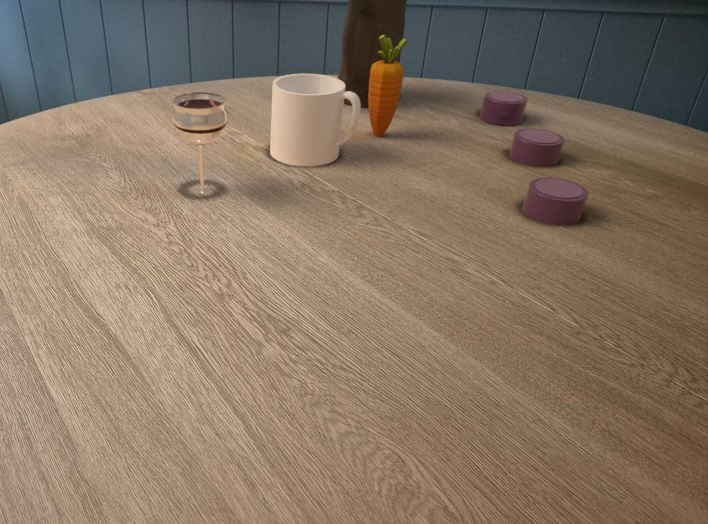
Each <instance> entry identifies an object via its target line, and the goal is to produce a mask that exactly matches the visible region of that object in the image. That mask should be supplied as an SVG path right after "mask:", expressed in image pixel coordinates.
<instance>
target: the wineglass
mask: <svg viewBox="0 0 708 524" xmlns="http://www.w3.org/2000/svg"><path fill="white" fill-rule="evenodd" d="M227 102H228V99H227V97H226V96H224V95H223V94H219V93H216V92H210V91H191V92H185V93H181V94H178V95H176V96H174V97H173V98H172V99H171V103H172V105H173V106H174V109H173V111H172V116H171V118H172V124H173V126H174V129H175V131H176V133H178V134H179V135H180V136H181V138H183V139H184V140H185V141H186V142H188V143H192V144H193V145H194V146H195V147H196V148H197V154H198V167H199V179H200V186H197V187H195V188H194V192H196V193H197V194H207V193H209V192H210V191H211V188H210V187H209V186H205V148H206V147H207V146H208V143H211V142H214V141H216V140H218V138H219V137H220V136H221V135H222V134H223V133H224V131H225V130H226V128H227V125H228V122H229V121H228V118H229V116H228V112H227V110H226V108H225V107H226V104H227Z"/></svg>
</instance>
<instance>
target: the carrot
mask: <svg viewBox="0 0 708 524" xmlns="http://www.w3.org/2000/svg"><path fill="white" fill-rule="evenodd" d="M379 40H380V45H381V48H382V51H378V53H379V54H380V56H381V57H382V58H383V60H381V61H377V62H375V63H374V64H373V65H372V66H371V70H370V80H369V93H368V103H369V107H368V116H369V122H370V126H371V129H372V133H373V135H374V137H377V138H381V137H383V136H384V135H385V133H386V132H387V130H388V129H389V127H390V125H391V123H392V121H393V119H394V116H395V114H396V111H397V108H398V104H399V101H400V96H401V91H402V86H403V81H404V75H405V71H404V67H403V65H402V64H401V62H400V63H399V62H396V61H395V59H396V58H397V56H398V54H399V53H400V51H401V52H402V50H403V48H404V47H405V46H406V44H407V43H408V42H409V40H407V39H406V38H403V39H402V40H401V42H400V43H399V44H398V46H397V47H396V48H395V49H394V51H393V46H392V42H391V39H390V38H385V35H381V36H380V37H379ZM388 49H389V53H388Z"/></svg>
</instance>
